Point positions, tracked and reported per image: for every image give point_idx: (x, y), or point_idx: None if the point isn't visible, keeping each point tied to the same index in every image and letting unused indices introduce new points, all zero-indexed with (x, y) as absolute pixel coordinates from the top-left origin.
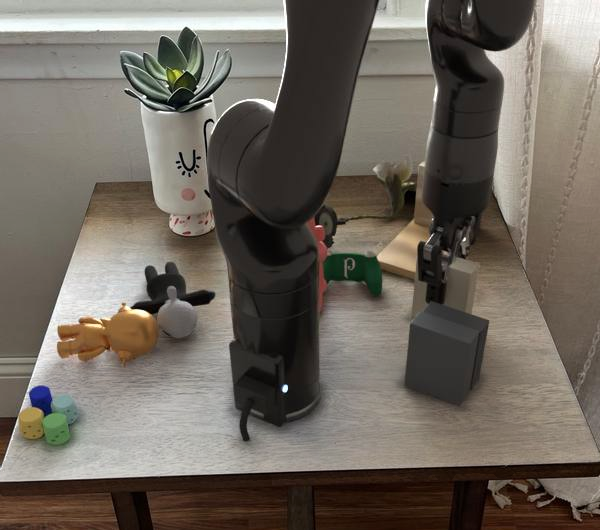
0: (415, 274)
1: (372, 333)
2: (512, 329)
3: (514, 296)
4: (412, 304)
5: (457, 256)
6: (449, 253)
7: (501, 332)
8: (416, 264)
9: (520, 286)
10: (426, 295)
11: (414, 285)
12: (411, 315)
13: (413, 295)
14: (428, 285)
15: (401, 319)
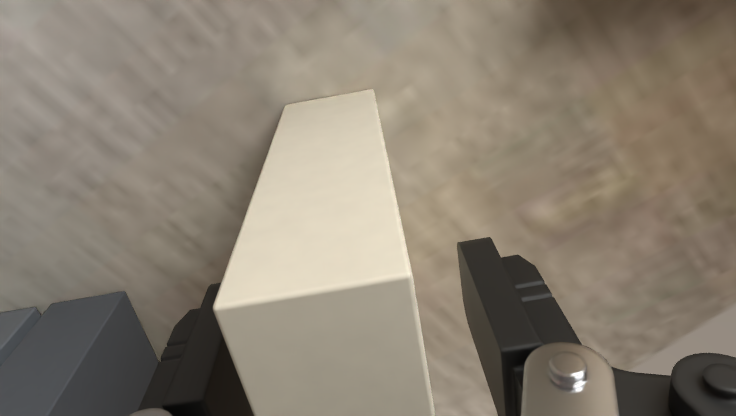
0: (246, 216)
1: (56, 39)
2: (471, 389)
3: (656, 311)
4: (277, 127)
5: (519, 409)
6: (532, 349)
7: (435, 376)
8: (228, 266)
9: (730, 296)
10: (203, 308)
11: (260, 177)
12: (283, 109)
13: (269, 150)
14: (142, 406)
15: (242, 78)
